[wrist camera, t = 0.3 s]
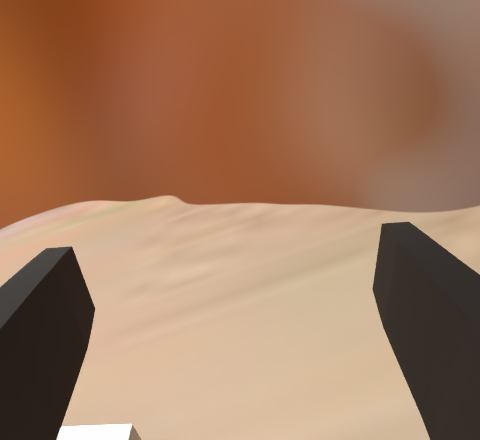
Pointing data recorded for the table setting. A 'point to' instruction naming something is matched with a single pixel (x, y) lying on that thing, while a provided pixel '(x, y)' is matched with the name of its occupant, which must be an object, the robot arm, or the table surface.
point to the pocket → (99, 432)
